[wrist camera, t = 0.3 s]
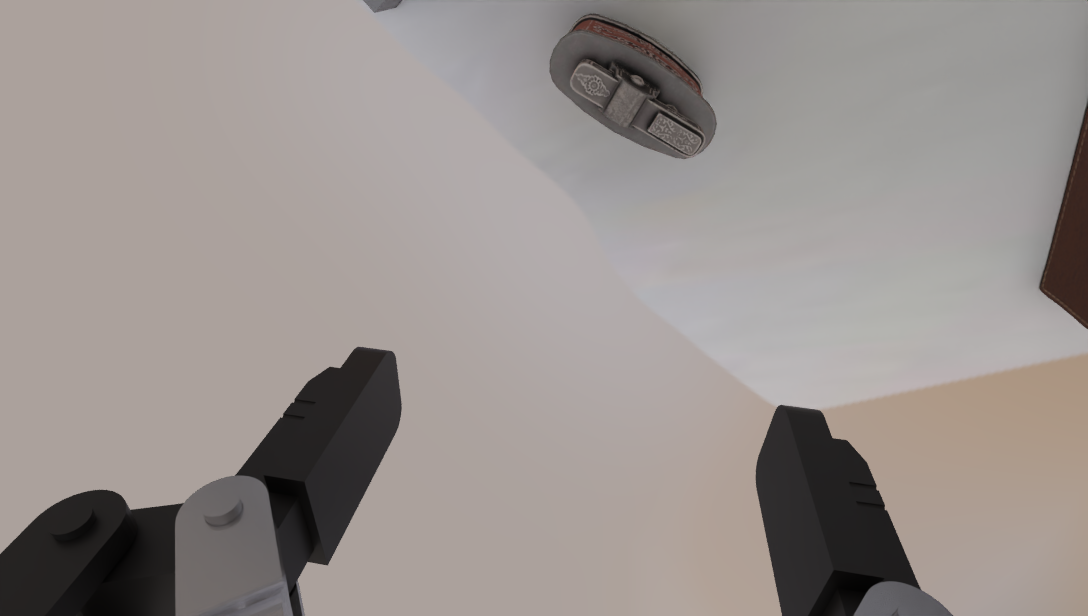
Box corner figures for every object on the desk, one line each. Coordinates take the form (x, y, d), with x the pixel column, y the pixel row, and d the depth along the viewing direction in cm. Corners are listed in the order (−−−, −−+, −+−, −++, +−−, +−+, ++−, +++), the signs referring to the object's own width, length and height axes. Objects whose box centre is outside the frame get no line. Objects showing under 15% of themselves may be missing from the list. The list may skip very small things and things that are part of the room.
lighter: (556, 58, 31) (526, 98, 23) (586, -3, 30) (565, 17, 21) (678, 131, 33) (691, 194, 24) (714, 77, 31) (742, 125, 22)
